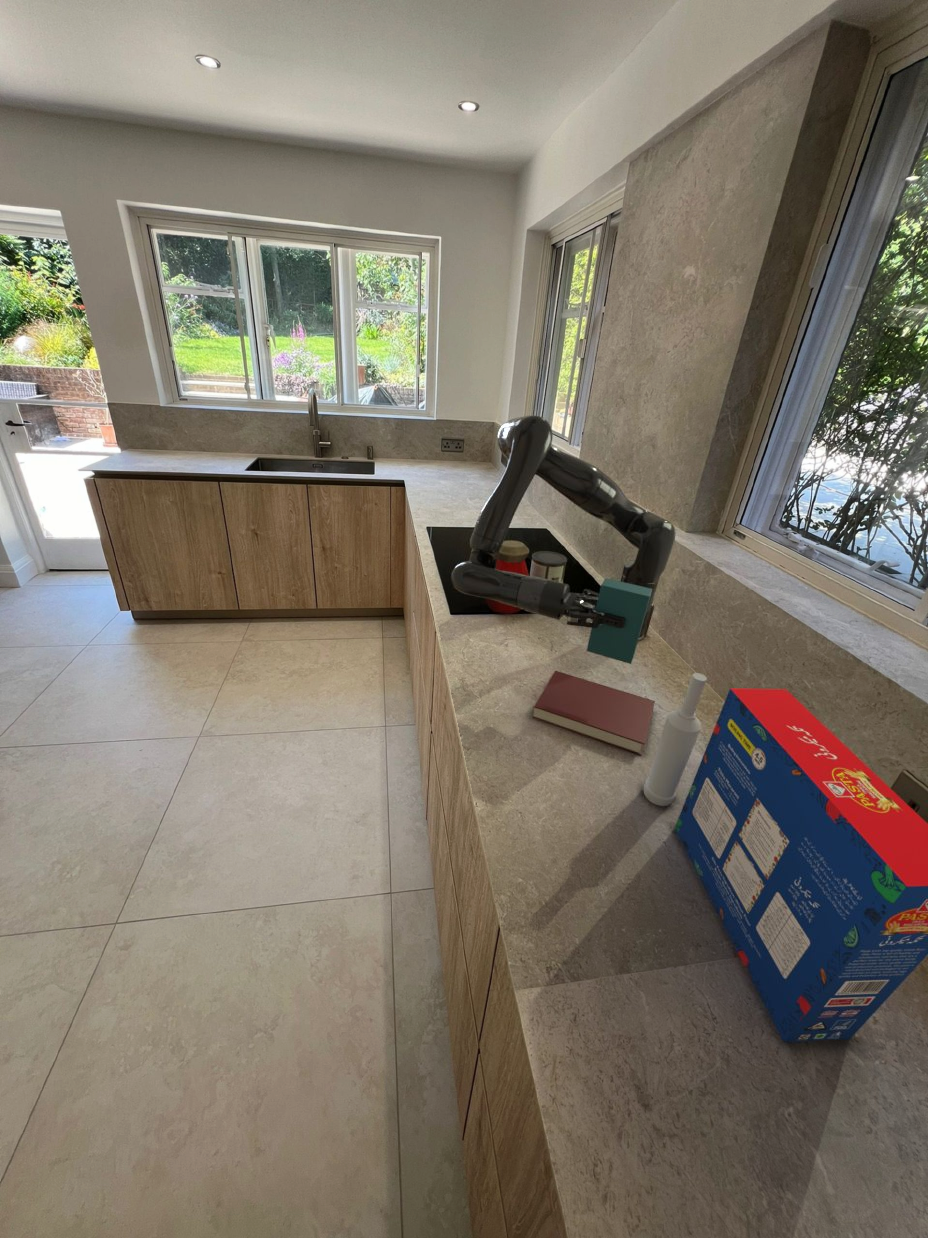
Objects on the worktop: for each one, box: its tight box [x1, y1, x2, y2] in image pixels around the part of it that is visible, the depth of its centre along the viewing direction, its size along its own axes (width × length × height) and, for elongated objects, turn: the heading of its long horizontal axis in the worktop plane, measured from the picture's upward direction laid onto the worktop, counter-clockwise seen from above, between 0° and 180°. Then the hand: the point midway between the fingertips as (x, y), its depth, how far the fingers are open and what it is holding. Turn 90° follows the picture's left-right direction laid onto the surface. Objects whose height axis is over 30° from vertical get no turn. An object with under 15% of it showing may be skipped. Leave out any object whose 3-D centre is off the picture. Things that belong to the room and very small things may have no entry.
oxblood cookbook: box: [532, 670, 656, 756], centre depth 103 cm, size 22×15×3 cm
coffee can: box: [529, 550, 568, 583], centre depth 149 cm, size 10×10×14 cm
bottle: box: [643, 672, 708, 807], centre depth 80 cm, size 5×5×25 cm
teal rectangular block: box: [586, 577, 652, 665], centre depth 98 cm, size 9×4×15 cm, turn 64°
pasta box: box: [674, 687, 928, 1043], centre depth 61 cm, size 28×8×28 cm, turn 4°
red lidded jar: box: [484, 540, 530, 615], centre depth 141 cm, size 16×14×20 cm
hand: (625, 618), depth 97 cm, fingers closed on teal rectangular block, 4 cm apart
